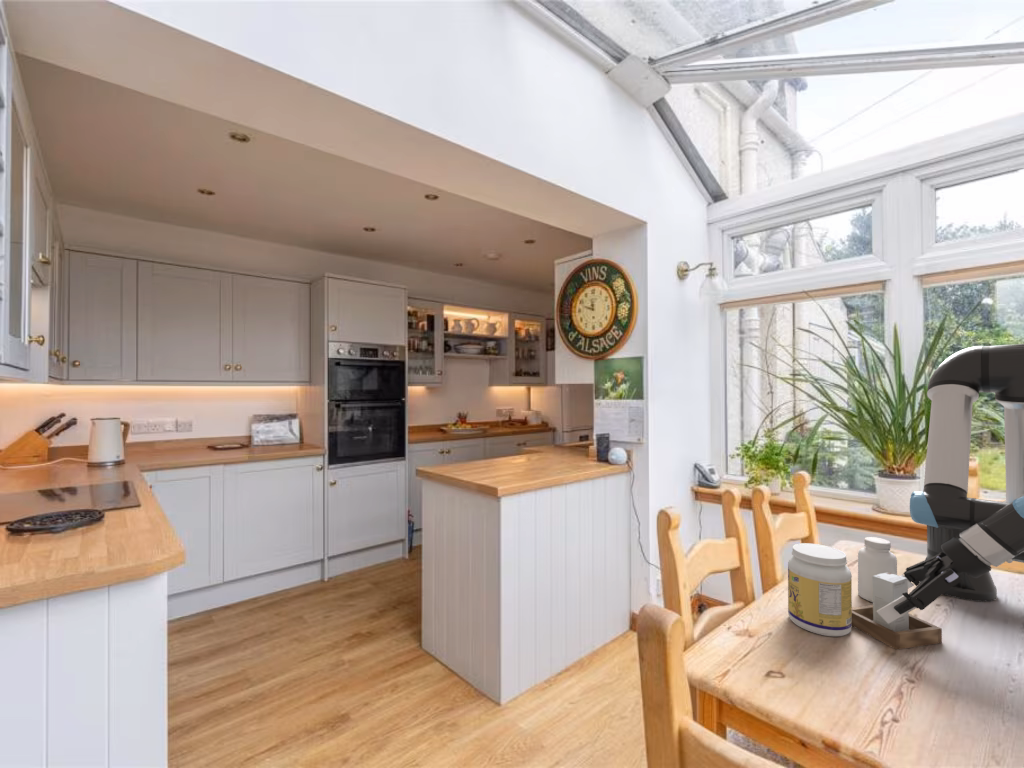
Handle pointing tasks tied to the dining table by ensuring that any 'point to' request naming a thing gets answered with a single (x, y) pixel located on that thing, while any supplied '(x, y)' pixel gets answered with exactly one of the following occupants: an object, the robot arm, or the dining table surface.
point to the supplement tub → (820, 589)
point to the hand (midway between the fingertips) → (882, 605)
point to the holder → (914, 637)
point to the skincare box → (889, 598)
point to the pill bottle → (874, 564)
